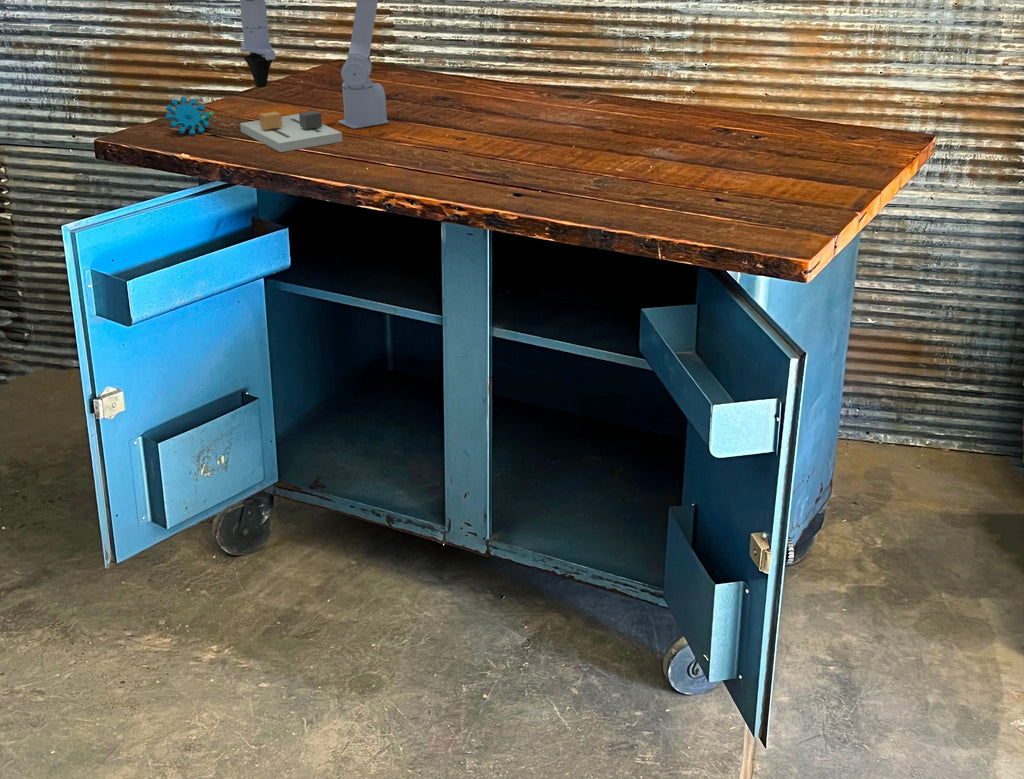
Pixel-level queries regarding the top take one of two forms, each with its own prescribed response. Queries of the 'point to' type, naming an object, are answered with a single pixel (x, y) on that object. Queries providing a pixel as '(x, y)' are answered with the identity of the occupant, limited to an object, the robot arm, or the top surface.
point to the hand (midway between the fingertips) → (261, 86)
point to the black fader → (310, 119)
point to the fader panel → (291, 134)
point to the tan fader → (270, 120)
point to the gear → (188, 116)
